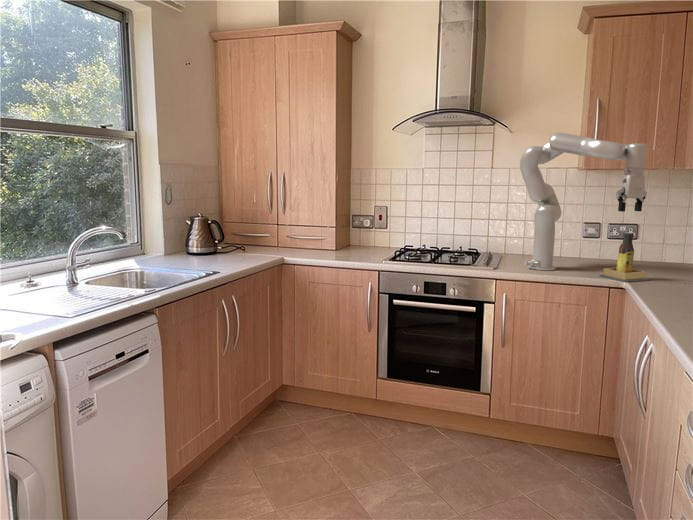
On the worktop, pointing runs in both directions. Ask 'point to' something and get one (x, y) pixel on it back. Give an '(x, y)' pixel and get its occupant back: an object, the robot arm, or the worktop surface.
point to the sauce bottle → (626, 254)
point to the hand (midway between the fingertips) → (629, 211)
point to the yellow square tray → (624, 275)
